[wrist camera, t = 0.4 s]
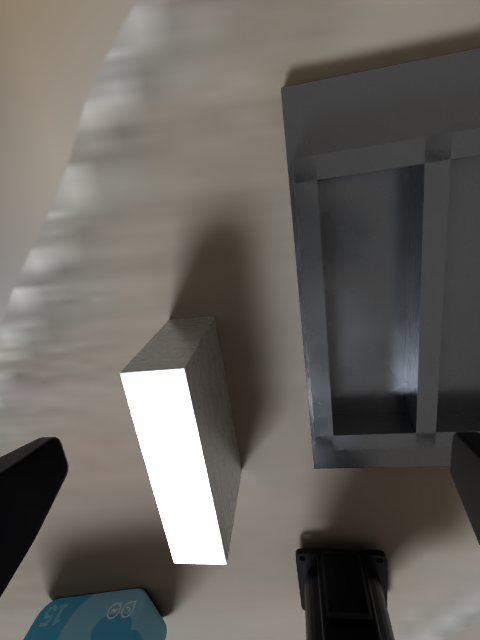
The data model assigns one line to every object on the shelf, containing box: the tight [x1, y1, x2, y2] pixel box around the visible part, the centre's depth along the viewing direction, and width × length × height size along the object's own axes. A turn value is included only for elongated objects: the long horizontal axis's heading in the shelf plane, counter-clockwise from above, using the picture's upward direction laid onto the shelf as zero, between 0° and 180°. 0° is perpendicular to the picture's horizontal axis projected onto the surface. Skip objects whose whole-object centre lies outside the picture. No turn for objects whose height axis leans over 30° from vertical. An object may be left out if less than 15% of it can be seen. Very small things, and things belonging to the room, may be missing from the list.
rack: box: [281, 48, 480, 469], centre depth 17 cm, size 22×18×3 cm
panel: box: [120, 316, 242, 565], centre depth 20 cm, size 12×3×7 cm, turn 8°
